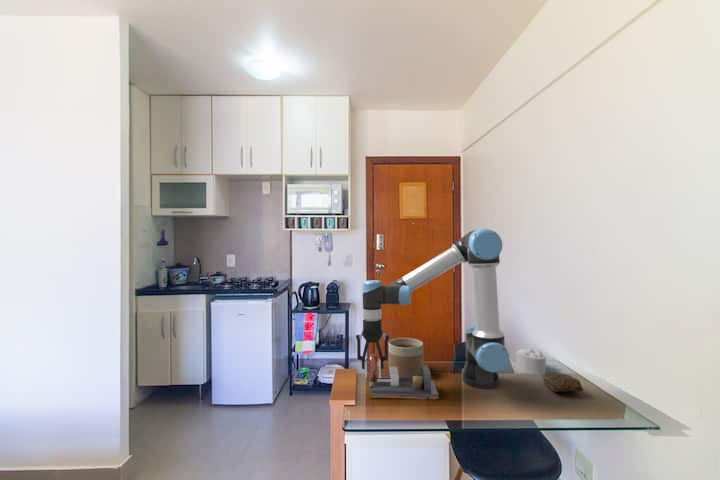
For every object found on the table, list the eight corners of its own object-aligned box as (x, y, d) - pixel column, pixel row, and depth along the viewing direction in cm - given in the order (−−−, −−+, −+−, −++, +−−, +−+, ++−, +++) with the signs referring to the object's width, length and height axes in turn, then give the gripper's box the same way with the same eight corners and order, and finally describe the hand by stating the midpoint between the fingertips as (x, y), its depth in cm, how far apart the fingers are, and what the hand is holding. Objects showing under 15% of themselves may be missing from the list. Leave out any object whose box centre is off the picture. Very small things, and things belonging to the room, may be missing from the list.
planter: (384, 376, 148) (383, 345, 148) (394, 364, 163) (394, 336, 163) (419, 381, 142) (418, 349, 142) (426, 368, 157) (426, 339, 157)
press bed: (432, 385, 138) (432, 363, 139) (438, 399, 125) (438, 375, 126) (370, 384, 140) (370, 362, 140) (370, 398, 127) (369, 374, 127)
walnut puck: (422, 384, 134) (422, 375, 134) (423, 388, 130) (423, 379, 130) (412, 384, 134) (412, 375, 135) (413, 388, 130) (413, 379, 131)
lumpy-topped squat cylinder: (532, 363, 162) (531, 346, 162) (552, 373, 149) (552, 354, 149) (513, 365, 160) (512, 347, 160) (532, 376, 147) (532, 356, 147)
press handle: (397, 381, 137) (397, 352, 137) (398, 390, 129) (398, 359, 129) (369, 381, 138) (369, 352, 138) (368, 389, 129) (368, 359, 129)
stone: (567, 384, 139) (565, 369, 140) (585, 396, 125) (582, 380, 126) (541, 384, 140) (539, 370, 141) (556, 397, 126) (554, 381, 127)
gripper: (394, 317, 137) (394, 373, 137) (350, 316, 138) (351, 373, 138) (395, 321, 130) (395, 380, 129) (349, 321, 130) (349, 380, 130)
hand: (372, 376), depth 133 cm, fingers open, 5 cm apart
